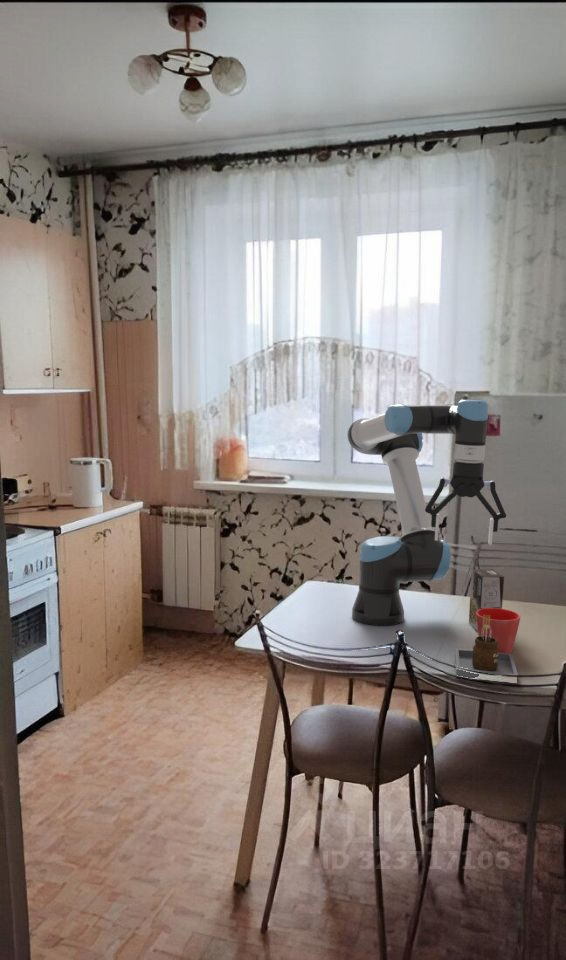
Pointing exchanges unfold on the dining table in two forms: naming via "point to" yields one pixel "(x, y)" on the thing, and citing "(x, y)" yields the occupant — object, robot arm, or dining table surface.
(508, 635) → the flower pot
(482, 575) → the coffee box
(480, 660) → the utensil holder
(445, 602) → the dining table surface
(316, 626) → the dining table surface
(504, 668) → the tray
